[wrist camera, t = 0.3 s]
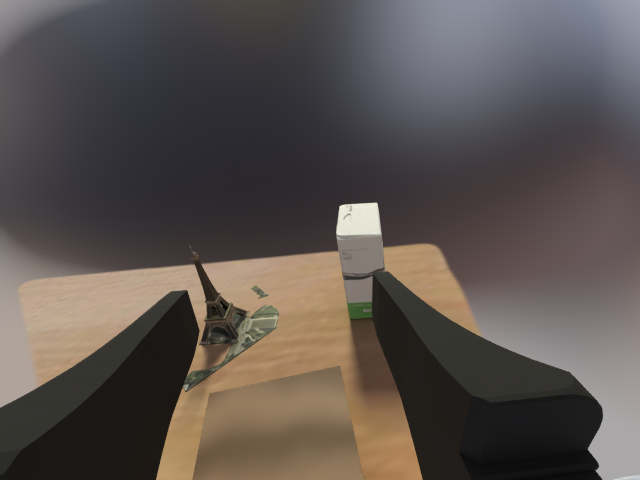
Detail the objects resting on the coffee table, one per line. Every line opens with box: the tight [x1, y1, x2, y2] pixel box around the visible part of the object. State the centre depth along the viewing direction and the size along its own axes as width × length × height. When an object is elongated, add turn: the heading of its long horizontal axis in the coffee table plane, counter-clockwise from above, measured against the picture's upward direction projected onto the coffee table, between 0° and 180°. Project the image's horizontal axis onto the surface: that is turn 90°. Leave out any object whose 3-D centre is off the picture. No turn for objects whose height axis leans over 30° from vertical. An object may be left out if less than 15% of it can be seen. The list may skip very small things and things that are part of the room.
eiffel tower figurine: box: [183, 245, 279, 391], centre depth 38 cm, size 15×10×13 cm
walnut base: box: [193, 366, 364, 480], centre depth 26 cm, size 13×13×2 cm
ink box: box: [336, 203, 385, 319], centre depth 39 cm, size 9×5×12 cm, turn 174°
